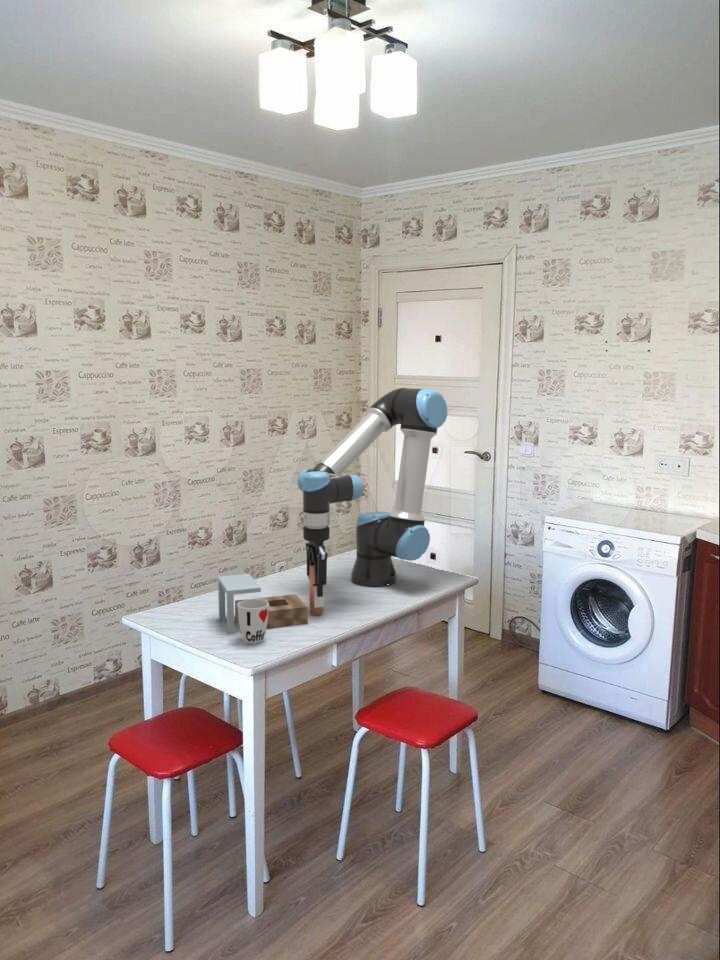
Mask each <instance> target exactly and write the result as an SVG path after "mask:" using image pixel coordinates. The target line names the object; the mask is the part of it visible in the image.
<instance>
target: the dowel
mask: <svg viewBox="0 0 720 960" xmlns="http://www.w3.org/2000/svg"><path fill="white" fill-rule="evenodd" d="M309 581H310V602H309V614H310V615H312V616H318V615H323V614H324V607H316V608H315V607H314V586H313V584H315V572H314V565H310V580H309Z"/></svg>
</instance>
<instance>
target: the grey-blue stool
mask: <svg viewBox="0 0 720 960" xmlns="http://www.w3.org/2000/svg"><path fill="white" fill-rule="evenodd" d="M217 587H218V588H217V589H218V590H217V591H218V593H217V595H218V619H219V621H220V620H226V634H227V635H229V636H230V635H234V634H235V598H234V597H235V596H234V595H242V594H243V595H244V594H253V593H254V594H255V593H261V592H262V588H261V586H260V585H259V583H257V581H256V580H255V579H254V577H253V576H252V575H251V574H250V573H243V574H233V575H223V576H222V575H221V576H217Z"/></svg>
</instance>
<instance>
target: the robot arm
mask: <svg viewBox="0 0 720 960" xmlns="http://www.w3.org/2000/svg"><path fill="white" fill-rule="evenodd" d="M447 418H448V404H447V401H446V399H444V396H443V395H442V394H441V393H440V392H439V391H437V390H434V389H428V388H406V387H399V388H396V389H393V390H391V391H389V392H387V393H386V394H384V395H383V396H382V397H380V398H378V399H377V400H376V401H375V402H374V403H373V404H372V405H371V406H370V407H369V408H368V409H367V410H366V415H365V416H364V417H363V418H362V419H361V420H360V421H359V422H357V424H356V425H355V426H354V428H352V429H351V430H350V431H349V433H347V434H346V435H345V436H344V437H343V438H342V439H341V441H339V442H338V443H337V444H336V446H335V447H333V448H332V449H331V450H330V451H329V452H328V454H326V455H325V456H324V458H323V459H321V461H319V462H318V464H317V465H315V466H314V467H313V468H308V469H307V468H306V469H304V470H302V471H301V472H299V475H298V477H297V480H296V481H297V482H296V483H297V487H298V489H299V490H300V491H301V492H302V501H303V502H302V506H303V508H302V510H303V511H302V512H303V515H301V519H303V521H302V522H303V525H304V526H303V527H302V529H303V530H302V531H303V534H302V536H303V537H302V538H303V539H304V541H307V542H305V549H306V550H305V551H306V576H307V578H308V583H309V585H308V590H309V591H308V592H309V593H308V594H309V597H308V599H309V600H308V601H309V603H310V565H314V572H315V584H313V586H314V607H315V608H316V607H323V608H324V605H325V601H324V600H325V599H324V598H325V596H324V595H325V587H324V586H326V585H327V583H328V582H327V578H328V575H327V573H328V572H327V570H328V563H327V561H328V555H329V553H328V551H326V547H325V545H324V542H325V541H328V540H329V539H330V527H329V526H330V524H331V523H330V521H331V520H330V518H331V517H330V516H331V515H330V514H331V511H330V505H331V504H336V503H343V502H352V501H355V500H358V499H360V498H361V497H362V495H363V492H364V483H363V480H362V478H360V476H358V475H356V474H345V475H343V473H344V472H346V471H347V470H348V468H349V467H350V466H351V465H352V464H354V463H355V461H356V460H358V458H359V457H361V455H362V454H363V453H364V452H366V450H367V449H368V448H369V447H370V446H371V445H372V444H373V443H374V442H375V441H376V439H378V438H379V437H380V436H381V435H382V433H384V432H385V433H386V432H389V431H390V430H391V429H392V428H393V427H395V426H398V425H400V427H399V428H400V431H401V433H402V434H403V443H402V448H401V449H402V450H401V456H400V465H399V470H398V471H399V472H398V479H397V480H398V481H397V486H396V493H395V501H394V509H393V510H392V511H391V512H390V511H371V512H364V513H361V514H359V515H358V516H357V519H356V525H355V526H356V527H355V529H356V531H355V533H356V558H355V561H354V564H353V567H352V570H351V574H350V581H351V580H352V581H353V582H354V583H353V582H352V581H351V582H352V583H353V584H355V583H357V584H356V585H358V584H360V585H359V586H362V585H365V586H364V587H372V586H378V587H383V586H382V585H387V584H391V583H393V582H395V581H396V582H397V573H396V569H395V567H394V563H393V559H392V557H394V558H398V559H399V560H403V561H410V562H411V561H416V560H418V559H420V558H421V557H422V556H423V555H424V554H425V553H426V551H427V549H428V548H429V546H430V541H431V535H430V532H429V529H428V528H427V527H426V526H425V520H426V519H425V517H424V516H423V515H422V508H423V501H424V494H425V484H426V478H427V471H428V465H429V464H428V463H429V457H430V450H431V441H432V438H433V437H435V436H436V435H437V434H438V428H440V427H442V426H443V425H444V423H445V422H446V420H447ZM396 582H395V583H396ZM393 584H394V583H393ZM391 585H392V584H391ZM387 586H388V585H387Z"/></svg>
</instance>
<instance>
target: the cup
mask: <svg viewBox="0 0 720 960" xmlns="http://www.w3.org/2000/svg"><path fill="white" fill-rule="evenodd" d="M242 600H243V601H240V602H239V603H238V604H237V607H238V619H239V623H238V624H239V629H240V634H241V637H242V640H243V642H244V643H246V644H252V645H253V644H259V643H261V642H263V641H264V638H265V636H266V632H267V629H266V627H267V621H268V607H269V603H268V602H267V601H265V600H261V599H255V598H248V600H245V599H242Z"/></svg>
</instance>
